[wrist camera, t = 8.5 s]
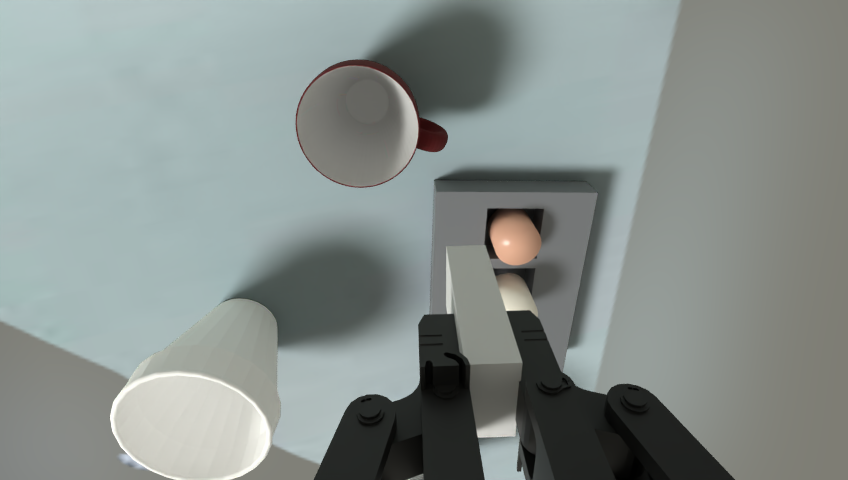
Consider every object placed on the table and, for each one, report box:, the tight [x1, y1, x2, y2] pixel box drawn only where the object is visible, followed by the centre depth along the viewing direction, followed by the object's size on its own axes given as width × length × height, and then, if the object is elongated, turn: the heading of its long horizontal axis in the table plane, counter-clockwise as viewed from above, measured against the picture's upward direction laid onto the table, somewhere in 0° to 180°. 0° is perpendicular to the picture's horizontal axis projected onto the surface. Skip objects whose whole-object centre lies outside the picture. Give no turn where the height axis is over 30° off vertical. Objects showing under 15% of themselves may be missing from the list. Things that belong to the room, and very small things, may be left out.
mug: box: [296, 60, 448, 188], centre depth 35 cm, size 10×8×10 cm
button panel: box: [430, 180, 598, 372], centre depth 46 cm, size 20×14×3 cm
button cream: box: [496, 273, 538, 317], centre depth 43 cm, size 4×4×4 cm
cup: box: [110, 298, 281, 480], centre depth 43 cm, size 12×12×14 cm
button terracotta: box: [487, 208, 541, 265], centre depth 42 cm, size 4×4×4 cm
